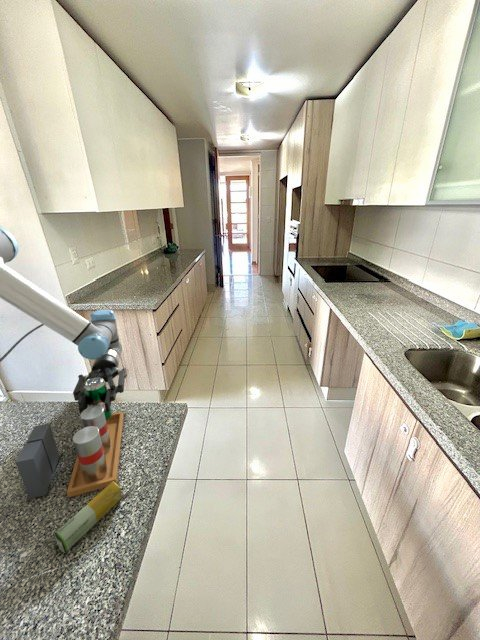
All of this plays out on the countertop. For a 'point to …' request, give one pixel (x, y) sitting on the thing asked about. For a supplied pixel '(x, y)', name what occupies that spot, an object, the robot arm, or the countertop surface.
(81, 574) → the countertop surface
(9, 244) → the robot arm
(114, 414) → the can tray
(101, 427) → the matching cans
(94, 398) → the soda can
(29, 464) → the grey packets
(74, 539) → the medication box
